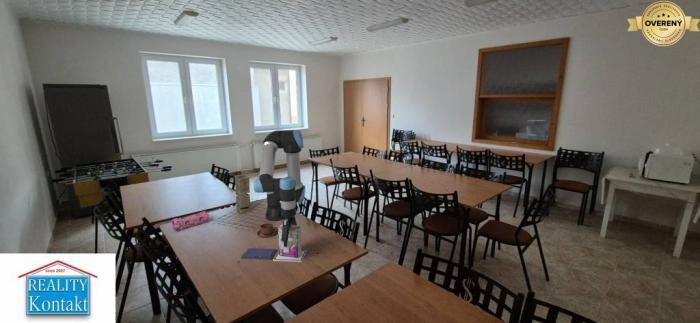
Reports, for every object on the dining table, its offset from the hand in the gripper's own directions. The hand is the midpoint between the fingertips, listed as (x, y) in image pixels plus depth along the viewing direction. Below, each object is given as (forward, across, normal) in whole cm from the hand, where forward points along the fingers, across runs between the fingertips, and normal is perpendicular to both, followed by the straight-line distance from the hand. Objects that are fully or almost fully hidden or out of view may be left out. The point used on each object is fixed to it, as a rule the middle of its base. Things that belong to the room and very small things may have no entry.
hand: (290, 245), depth 154 cm
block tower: (+6, -61, -53) cm, 81 cm away
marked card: (+6, 0, 0) cm, 6 cm away
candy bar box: (+5, 0, 0) cm, 5 cm away
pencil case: (+6, -33, -77) cm, 84 cm away
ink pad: (+6, 0, -17) cm, 18 cm away
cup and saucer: (+6, -25, -22) cm, 34 cm away
